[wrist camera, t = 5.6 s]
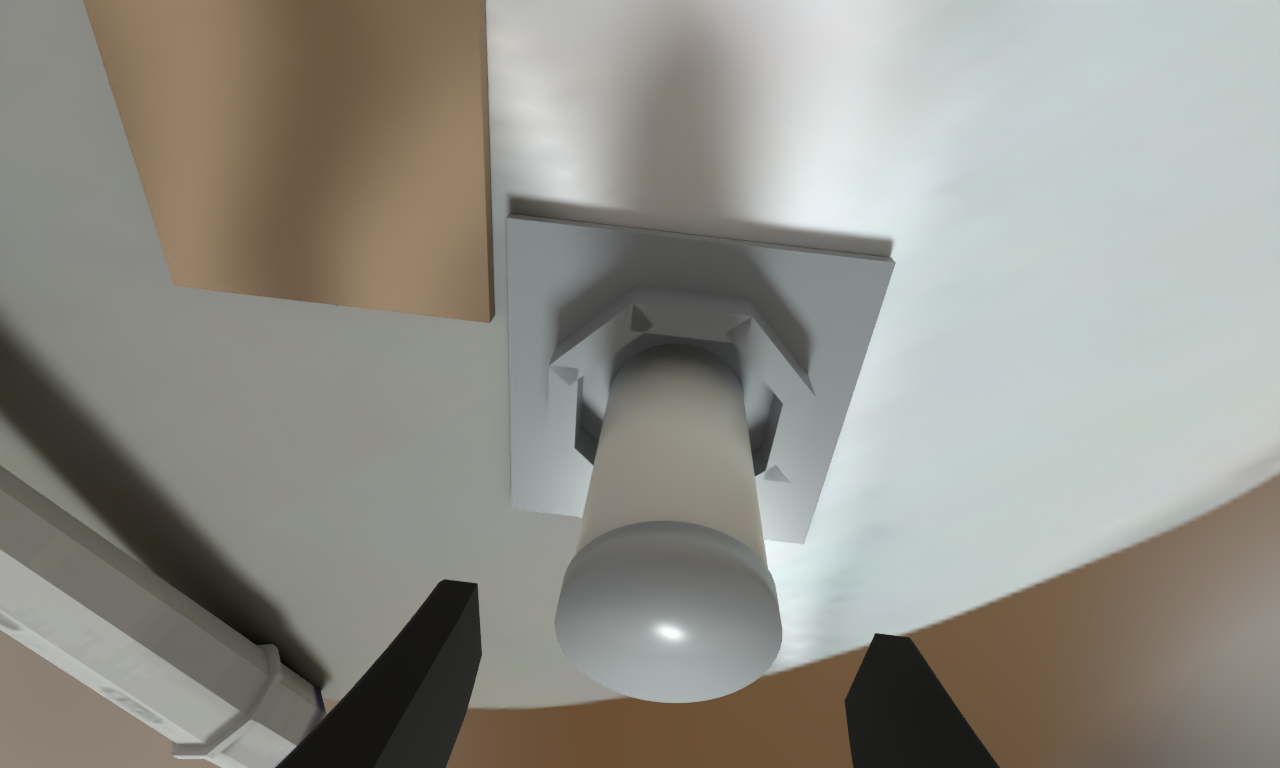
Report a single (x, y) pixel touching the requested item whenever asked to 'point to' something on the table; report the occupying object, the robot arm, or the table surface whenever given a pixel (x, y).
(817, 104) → the table surface
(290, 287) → the tan board
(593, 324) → the cartridge socket
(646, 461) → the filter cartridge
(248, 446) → the table surface
